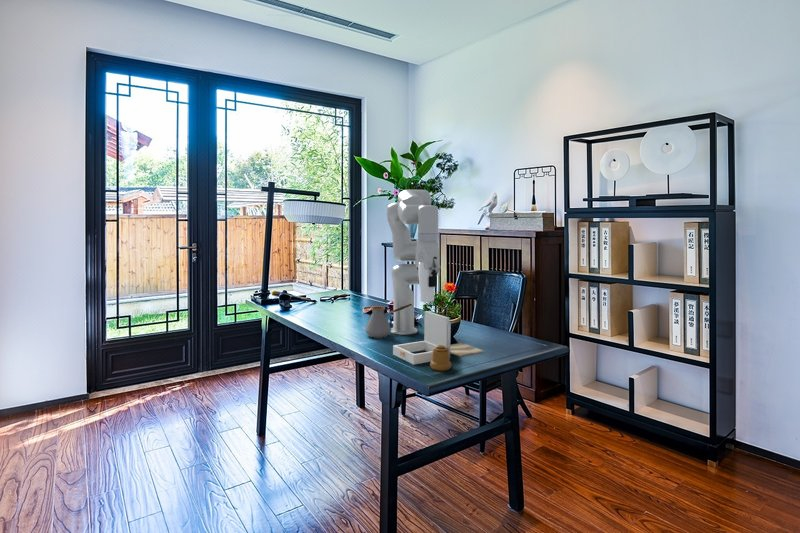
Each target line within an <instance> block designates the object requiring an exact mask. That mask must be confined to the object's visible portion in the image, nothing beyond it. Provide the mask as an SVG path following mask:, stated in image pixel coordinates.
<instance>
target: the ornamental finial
mask: <svg viewBox="0 0 800 533" xmlns="http://www.w3.org/2000/svg"><path fill="white" fill-rule="evenodd" d="M429 366H430V367H431V369H432V370H434V371H440V372H444V371H449V370H450V369H451V367H452V362H451V361H450V359H449V350H448V349H447V348H446V347H445V346H444V345H438V346H437V347H435V348H434V349H433V356H432V361H431V362H430V363H429Z"/></svg>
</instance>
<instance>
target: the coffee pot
mask: <svg viewBox="0 0 800 533" xmlns="http://www.w3.org/2000/svg"><path fill="white" fill-rule="evenodd" d="M408 306H412V304H409V305H406V306H403V307H400V308H398V309H395V310H394V309H393V310H391V311H388V312H386V313H385V310H386V307H385V306H372V307H370V309H371V311H372V313H371V315H370V318H369V320H368V323H367V325H366V326H365V330H364V331H365V333H366V334H367V335H368V336H369V337H370V338H372V337H375V338H374V339H383V338H382V337H384V338H386V337H388V335H389V334H390V333H391V328H392V327H391V325H390V324H389V321H388V319H387V317H386V316H387V315H390V314H394V312H396V311H399V310H402V309H404V308H406V307H408ZM412 308H413V306H412ZM380 337H381V338H380Z"/></svg>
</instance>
